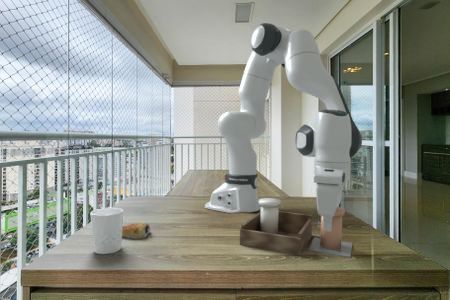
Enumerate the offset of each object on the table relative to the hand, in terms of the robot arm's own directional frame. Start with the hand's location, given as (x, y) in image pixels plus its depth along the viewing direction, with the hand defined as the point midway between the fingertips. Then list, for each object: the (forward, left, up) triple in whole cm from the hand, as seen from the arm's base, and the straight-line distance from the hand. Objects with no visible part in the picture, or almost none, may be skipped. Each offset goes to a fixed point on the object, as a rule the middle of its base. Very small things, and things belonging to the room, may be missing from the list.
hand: (330, 225), depth 77 cm
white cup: (-52, -26, -7) cm, 58 cm away
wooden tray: (-14, -1, -6) cm, 15 cm away
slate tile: (0, 0, -6) cm, 6 cm away
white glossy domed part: (-17, +2, -6) cm, 18 cm away
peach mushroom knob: (0, 0, -6) cm, 6 cm away
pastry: (-53, -15, -7) cm, 55 cm away
